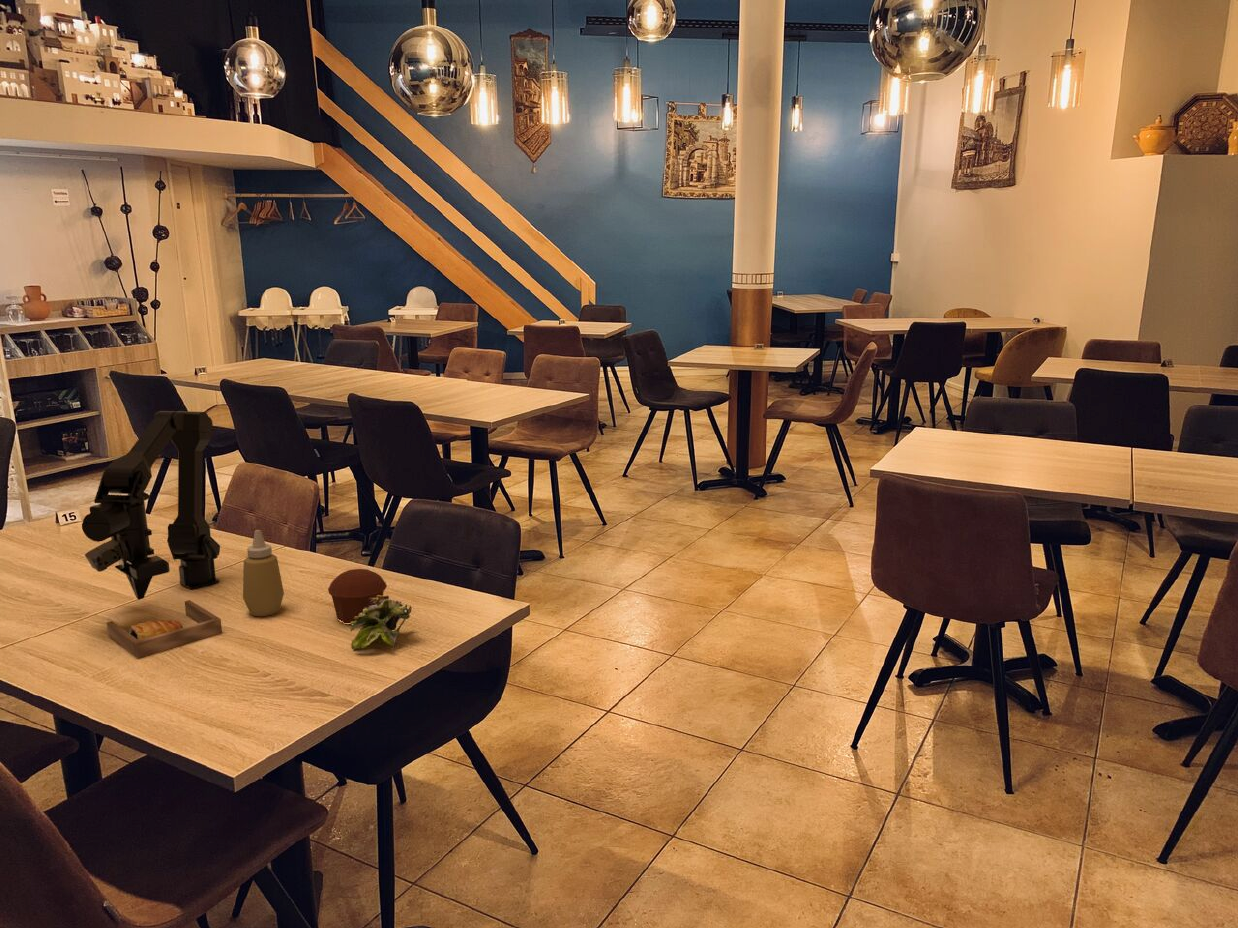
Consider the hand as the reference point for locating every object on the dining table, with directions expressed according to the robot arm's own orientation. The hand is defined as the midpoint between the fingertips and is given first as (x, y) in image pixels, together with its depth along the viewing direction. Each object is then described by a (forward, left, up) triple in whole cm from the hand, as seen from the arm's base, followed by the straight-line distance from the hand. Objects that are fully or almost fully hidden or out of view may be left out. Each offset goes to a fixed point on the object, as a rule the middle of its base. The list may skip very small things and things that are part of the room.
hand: (140, 598), depth 185 cm
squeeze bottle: (-19, +15, -5) cm, 24 cm away
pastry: (+2, +11, -5) cm, 12 cm away
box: (0, +11, -5) cm, 11 cm away
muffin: (-31, +32, -5) cm, 45 cm away
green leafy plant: (-27, +47, -5) cm, 54 cm away
